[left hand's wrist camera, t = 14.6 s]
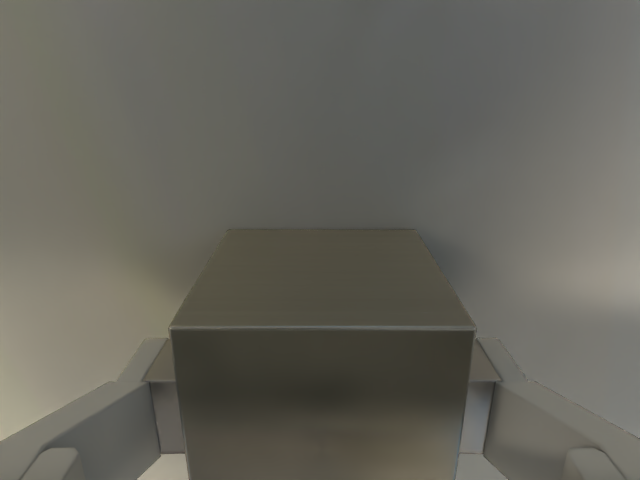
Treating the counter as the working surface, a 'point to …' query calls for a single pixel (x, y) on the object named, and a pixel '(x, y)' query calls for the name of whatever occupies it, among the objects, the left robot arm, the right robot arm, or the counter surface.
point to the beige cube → (322, 359)
